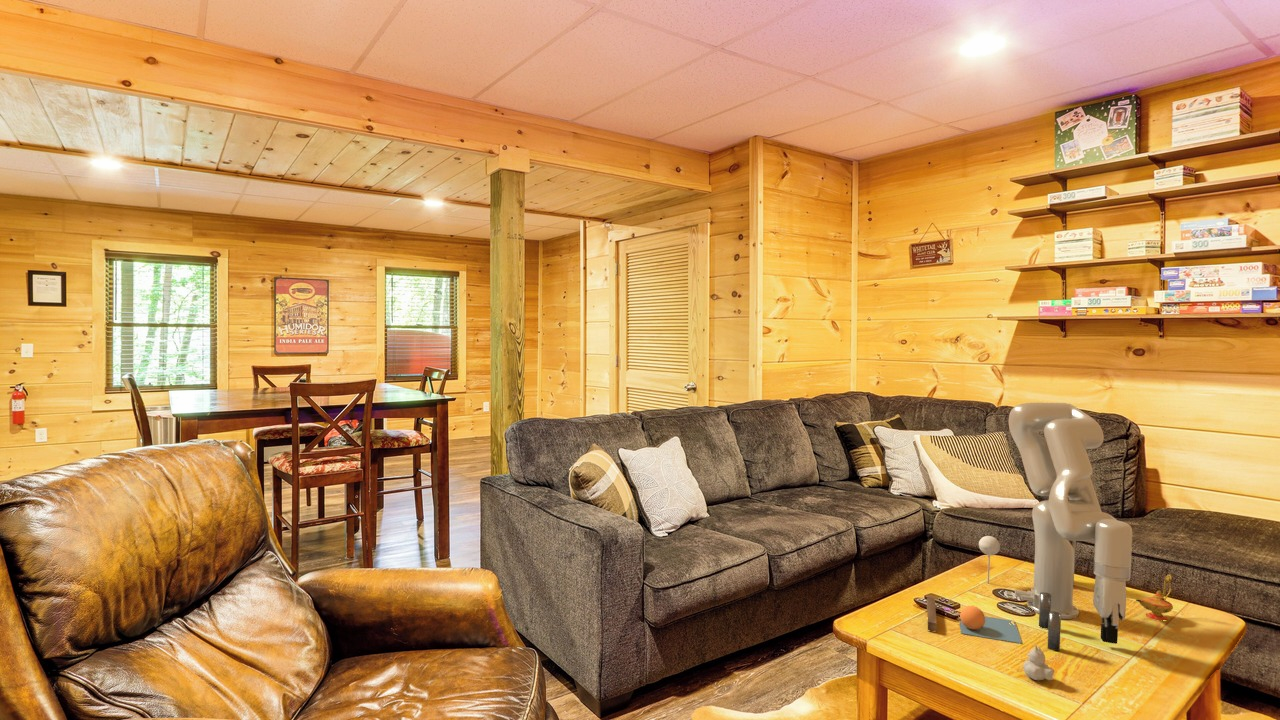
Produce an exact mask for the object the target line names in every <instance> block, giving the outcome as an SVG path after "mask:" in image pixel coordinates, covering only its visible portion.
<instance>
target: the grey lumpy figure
mask: <svg viewBox="0 0 1280 720" xmlns="http://www.w3.org/2000/svg"><path fill="white" fill-rule="evenodd" d="M1027 656H1028V658H1027V659H1028V660H1025V661H1024V662H1023V667H1022V668H1023V671H1024V674H1025V675H1026V676H1027V677H1028V678H1030V679H1032V680H1035V681H1043V680H1047V681H1052V680H1053V679H1054V678H1053V675H1054V674H1055V670H1054V669H1053V668H1052V667H1051V666H1049V665H1048V664H1047V663H1045V662H1046V655H1045V653H1044V652H1043V650H1042V649H1041V647H1038V646H1037V643H1035V645H1034V648H1032V649H1030V652H1027Z"/></svg>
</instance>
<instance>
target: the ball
mask: <svg viewBox="0 0 1280 720" xmlns="http://www.w3.org/2000/svg"><path fill="white" fill-rule="evenodd" d="M960 612H961V613H960V619H961V622H962V623H963V624H964V626H966V627H967V628H969V629H972V630H978V629H980V628H982V627H983V626H984V624H985V616H986V615H985V614H984V612H983V611H982V610H981V609H980V608H979V607H977V606H974V605H967V606H964V607H963V608H962V609H961V611H960Z"/></svg>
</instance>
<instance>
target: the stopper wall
mask: <svg viewBox="0 0 1280 720" xmlns="http://www.w3.org/2000/svg"><path fill="white" fill-rule="evenodd" d="M926 611H927V612H926V615H927V616H926V617H928V620H927V631H928V630H930V631H936V632H937V613H936V611H937V610H936V598H935V597H933V596H927V597H926Z"/></svg>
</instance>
